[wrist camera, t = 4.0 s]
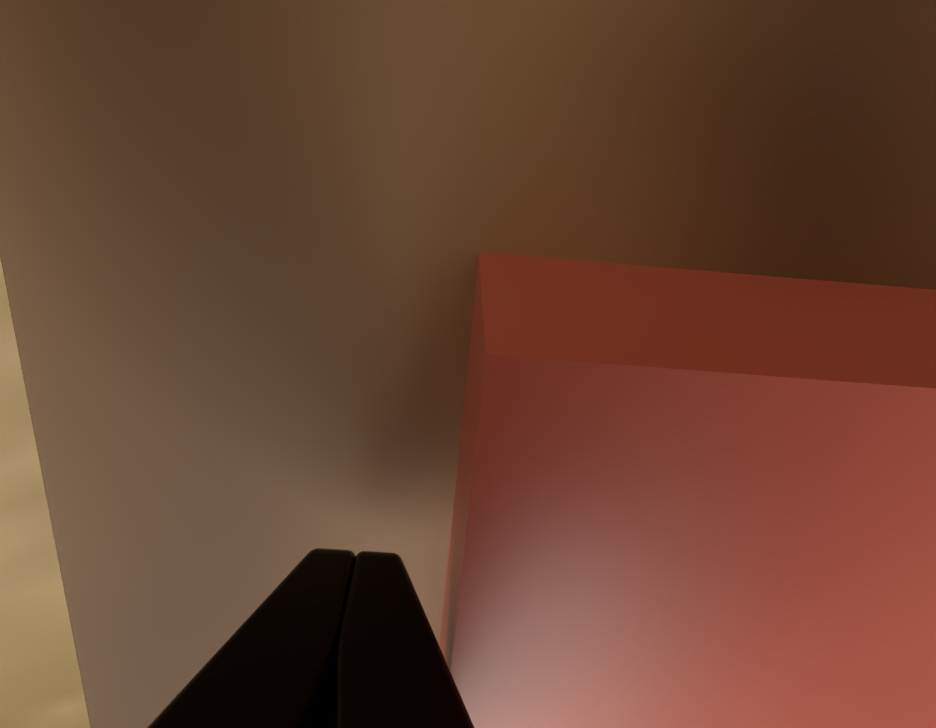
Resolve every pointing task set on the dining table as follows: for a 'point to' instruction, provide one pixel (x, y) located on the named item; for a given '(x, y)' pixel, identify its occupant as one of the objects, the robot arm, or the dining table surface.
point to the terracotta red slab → (693, 501)
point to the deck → (381, 252)
